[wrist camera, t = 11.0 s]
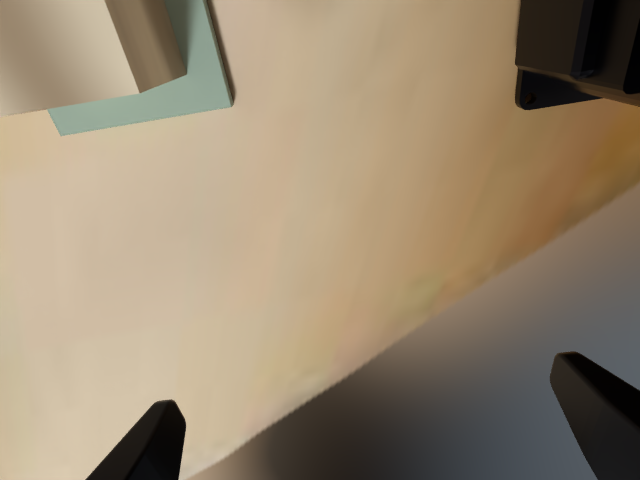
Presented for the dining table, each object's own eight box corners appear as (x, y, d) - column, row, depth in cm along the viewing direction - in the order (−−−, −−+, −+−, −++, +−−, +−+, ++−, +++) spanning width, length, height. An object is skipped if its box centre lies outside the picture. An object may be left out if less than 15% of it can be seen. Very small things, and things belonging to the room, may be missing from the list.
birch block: (140, -78, 13) (55, -129, 9) (187, 74, 16) (139, 93, 11) (8, -51, 13) (-138, -88, 9) (75, 93, 16) (-14, 119, 11)
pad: (170, -134, 13) (165, -141, 12) (233, 104, 17) (231, 107, 16) (-43, -89, 13) (-58, -94, 13) (68, 132, 17) (60, 135, 17)
